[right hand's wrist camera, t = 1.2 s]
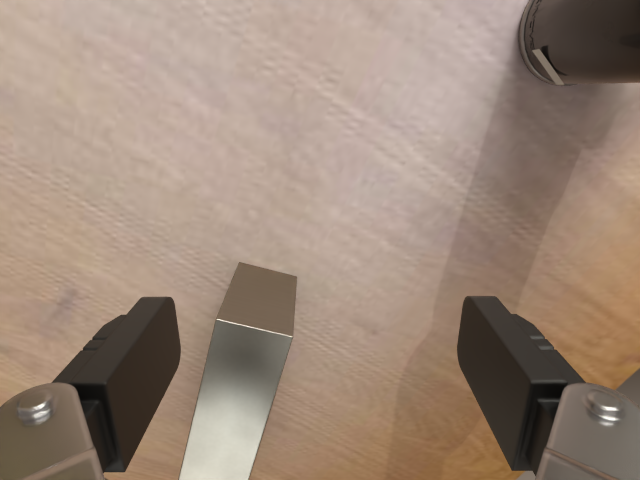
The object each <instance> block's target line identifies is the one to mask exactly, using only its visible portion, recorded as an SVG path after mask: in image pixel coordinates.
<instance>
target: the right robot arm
mask: <svg viewBox="0 0 640 480" xmlns="http://www.w3.org/2000/svg"><path fill="white" fill-rule="evenodd" d="M519 45H520V50H521V54H522V57H523V60H524V62H525V64H526V66H527V67H528V69H529V70H530V71H531V72H532V73H533V74H534V75H535V76H536V77H537V78H539V79H540V80H542V81H544V82H546V83H549V84H553V85H561V86H563V85H576V84H602V83H640V0H529V2H528V4H527V6H526V8H525V11H524V13H523V16H522V19H521V24H520V30H519ZM180 353H181V347H180V339H179V332H178V324H177V317H176V310H175V304H174V301H173V299H172V298H171V297H142V298H141V299H140V300H139V301H138V302H137V303H136V304H135V305H134V307H133V308H132V309H131V310H130V311H129V312H128V314H127V315H120V316H118V317H117V318H115V319H114V320H112V321H110V322H109V323H107V324H105V325H104V326H103V327H102V328H101V329H100V330H99V331H98V332H97V333H96V335H95V336H94V337H93V339H92V340H90V341H89V342H88V343H87V344H86V345H85V347H84V348H83V351H80V352H79V353H78V354H77V355H76V356H75V358H74V359H73V360H72V361H71V362H70V363H69V364H68V365H67V366H66V367H65V369H64V370H63V371H62V372H61V373H60V374H59V375H58V376H57V377H56V378H55V380H54V381H53V382H52V383H48V384H43V385H39V386H36V387H33V388H30V389H28V390H25V391H23V392H21V393H19V394H17V395H16V396H14V397H12V398H11V399H9V400H8V401H7V402H6V403H4V404H3V405H2V406H1V407H0V480H105V478H104V475H103V473H104V472H125V471H126V469H127V467H128V465H129V463H130V461H131V459H132V457H133V455H134V453H135V451H136V449H137V447H138V445H139V443H140V441H141V439H142V437H143V435H144V433H145V431H146V429H147V427H148V426H149V424H150V422H151V420H152V418H153V416H154V414H155V412H156V410H157V408H158V406H159V404H160V402H161V400H162V398H163V396H164V394H165V392H166V390H167V388H168V386H169V384H170V382H171V380H172V378H173V376H174V374H175V372H176V370H177V368H178V365H179V361H180ZM457 354H458V361H459V365H460V368H461V370H462V372H463V374H464V376H465V378H466V380H467V382H468V384H469V386H470V388H471V390H472V392H473V394H474V396H475V398H476V400H477V402H478V404H479V406H480V408H481V410H482V412H483V414H484V416H485V418H486V420H487V422H488V424H489V426H490V428H491V430H492V432H493V434H494V436H495V438H496V440H497V442H498V444H499V446H500V448H501V450H502V452H503V454H504V456H505V458H506V460H507V462H508V464H509V466H510V468H511V470H512V471H533V472H534V474H535V476H536V478H535V480H640V407H639V406H638V405H637V404H636V403H634V402H633V401H632V400H630V399H629V398H628V397H626V396H624V395H623V394H621V393H619V392H617V391H615V390H612V389H610V388H607V387H604V386H601V385H597V384H592V383H586V382H585V381H584V380H583V379H582V378H581V377H580V376H579V374H578V373H577V372H576V371H575V370H574V369H573V368H572V367H571V366H570V364H569V363H568V362H567V361H566V360H565V359H564V358H563V357H562V356H561V354H560V353H559V352H558V351H557V350H554V347H553V346H552V345H551V343H550V342H549V341H548V340H547V339H545V337H544V336H543V335H542V333H541V332H540V331H539V330H538V329H537V328H536V327H535V326H534V325H533V324H532V323H530V322H528V321H527V320H525V319H524V318H522V317H520V316H519V315H517V314H510V312H509V311H508V310H507V309H506V308H505V306H504V305H503V304H502V303H501V302H500V301H499V299H498V298H497V297H495V296H467V297H466V298H465V300H464V302H463V308H462V315H461V323H460V330H459V337H458V345H457Z"/></svg>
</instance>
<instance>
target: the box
mask: <svg viewBox="0 0 640 480" xmlns="http://www.w3.org/2000/svg"><path fill="white" fill-rule="evenodd" d="M296 284H297V277H296V276H292V275H288V274H284V273H280V272H276V271H272V270H268V269H264V268H260V267H256V266H252V265H248V264H244V263H240V262H239V264H238V267H237V269H236V271H235V274H234V276H233V279H232V281H231V284H230V286H229V289H228V291H227V293H226V296H225V298H224V301H223V303H222V306H221V308H220V311H219V313H218V315H217V318H216V321H215V325H214V330H213V334H212V338H211V342H210V347H209V351H208V355H207V359H206V364H205V368H204V372H203V377H202V381H201V385H200V389H199V394H198V398H197V402H196V406H195V411H194V415H193V419H192V424H191V428H190V432H189V436H188V441H187V445H186V449H185V453H184V458H183V462H182V466H181V471H180V475H179V479H178V480H249V477H250V474H251V471H252V467H253V464H254V461H255V458H256V455H257V451H258V448H259V445H260V442H261V439H262V435H263V432H264V429H265V426H266V422H267V419H268V416H269V413H270V410H271V406H272V403H273V400H274V397H275V393H276V390H277V387H278V384H279V381H280V377H281V374H282V371H283V368H284V364H285V361H286V358H287V355H288V352H289V348H290V345H291V342H292V339H293V329H294V314H295V299H296Z"/></svg>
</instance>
